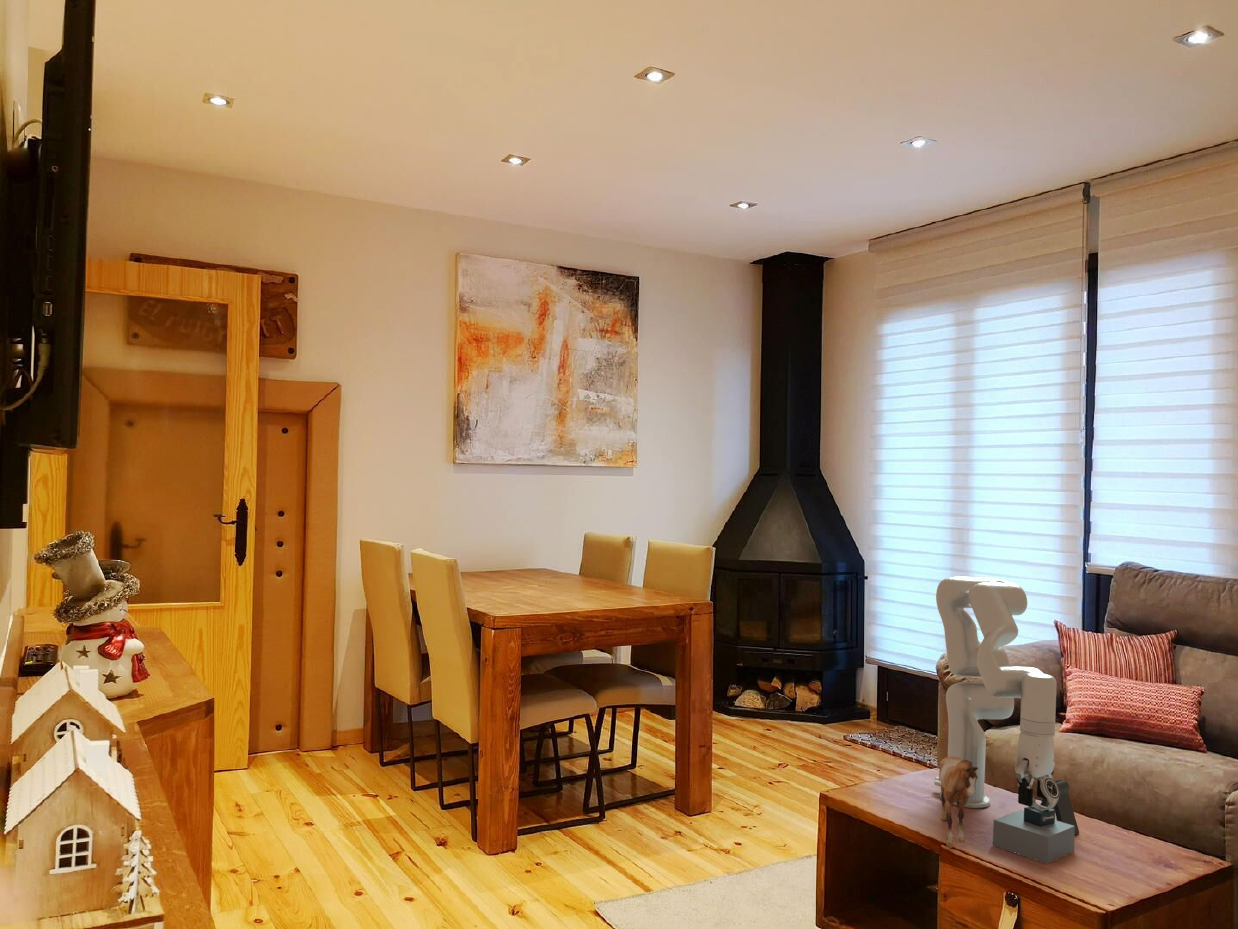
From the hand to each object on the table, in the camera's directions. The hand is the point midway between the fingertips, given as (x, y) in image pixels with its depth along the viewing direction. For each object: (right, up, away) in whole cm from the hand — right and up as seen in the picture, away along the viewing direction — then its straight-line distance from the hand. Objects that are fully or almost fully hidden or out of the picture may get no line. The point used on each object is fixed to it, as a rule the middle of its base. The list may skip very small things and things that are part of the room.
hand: (1034, 801), depth 221 cm
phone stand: (+11, -12, +13) cm, 21 cm away
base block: (-1, -11, 0) cm, 11 cm away
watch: (+1, -5, 0) cm, 6 cm away
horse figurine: (-13, -11, +7) cm, 19 cm away
